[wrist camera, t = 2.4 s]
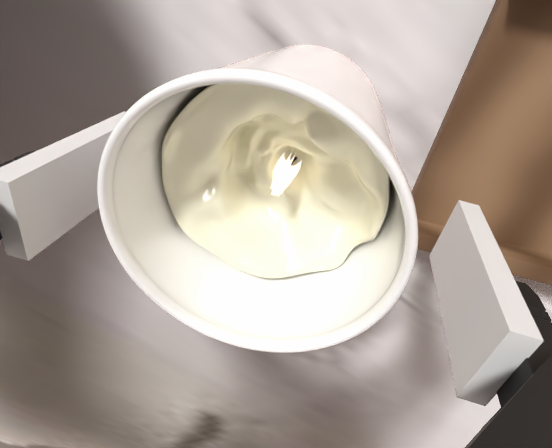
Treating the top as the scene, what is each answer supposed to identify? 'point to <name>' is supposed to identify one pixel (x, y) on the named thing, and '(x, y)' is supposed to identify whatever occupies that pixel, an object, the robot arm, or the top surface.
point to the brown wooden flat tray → (499, 141)
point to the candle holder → (262, 201)
